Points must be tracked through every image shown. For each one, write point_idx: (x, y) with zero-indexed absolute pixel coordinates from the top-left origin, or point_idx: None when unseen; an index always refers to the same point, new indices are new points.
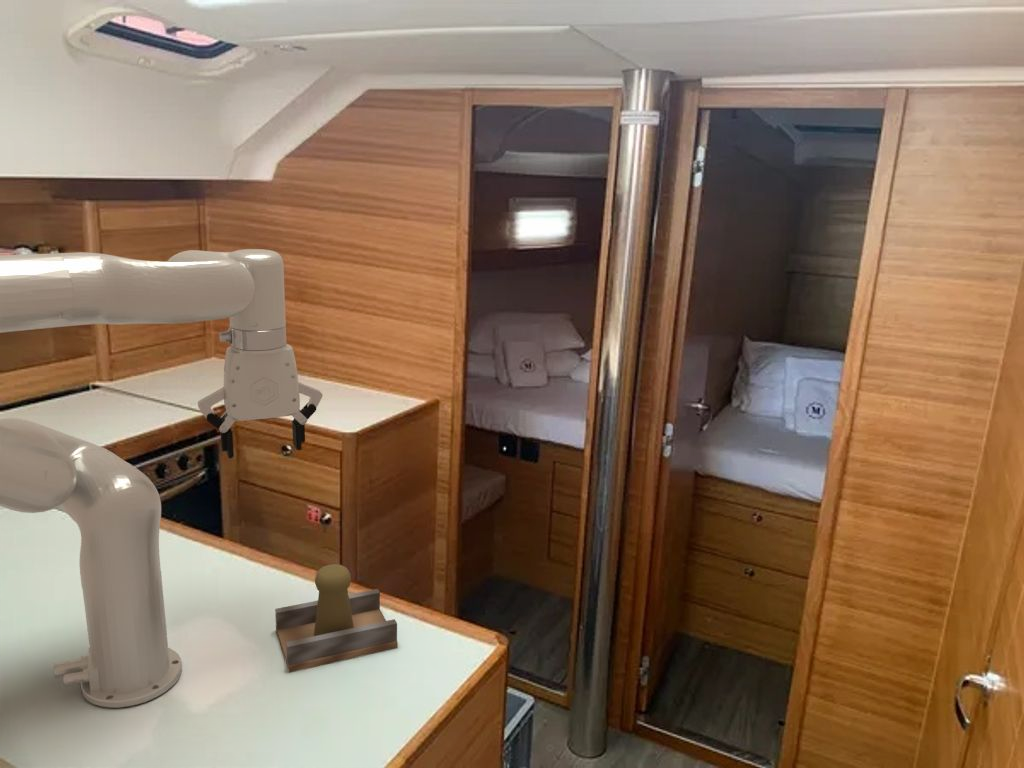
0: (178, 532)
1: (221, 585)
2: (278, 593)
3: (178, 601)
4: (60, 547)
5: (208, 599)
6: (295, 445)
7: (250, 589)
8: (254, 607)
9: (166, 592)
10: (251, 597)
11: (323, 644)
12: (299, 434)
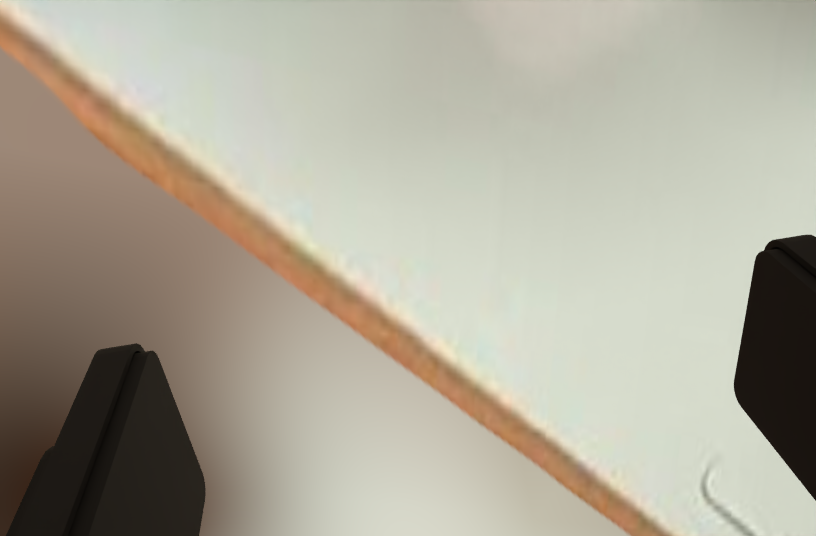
0: (573, 468)
1: (491, 225)
2: (339, 156)
3: (601, 169)
4: None
5: (528, 163)
6: (164, 408)
7: (416, 192)
8: (408, 95)
9: (625, 217)
10: (415, 150)
11: None
12: (62, 476)
